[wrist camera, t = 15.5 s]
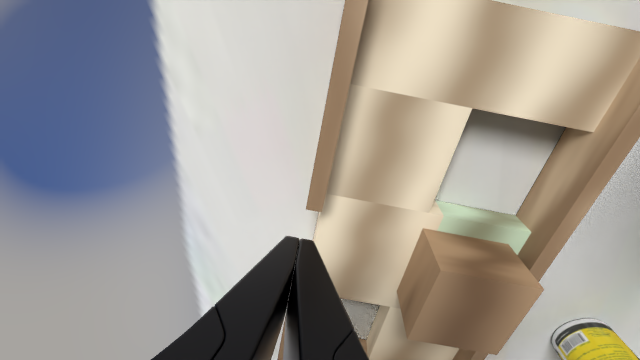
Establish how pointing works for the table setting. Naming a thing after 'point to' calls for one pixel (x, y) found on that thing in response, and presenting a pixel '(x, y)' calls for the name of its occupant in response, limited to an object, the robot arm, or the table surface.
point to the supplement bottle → (590, 342)
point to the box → (445, 131)
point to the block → (464, 292)
